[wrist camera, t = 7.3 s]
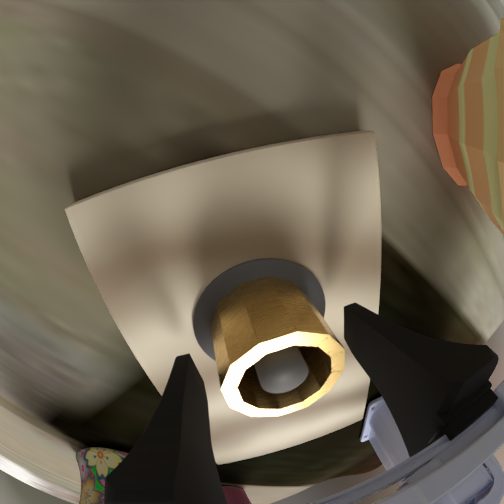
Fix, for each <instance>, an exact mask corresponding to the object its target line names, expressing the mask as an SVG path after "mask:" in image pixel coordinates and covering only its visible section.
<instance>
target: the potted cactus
mask: <svg viewBox="0 0 504 504" xmlns="http://www.w3.org/2000/svg"><path fill="white" fill-rule="evenodd" d="M432 111H433V136H434V139H435V142H436V146H437V149H438V152H439V156H440V159H441V163H442V166H443V168H444V169H445V170H446V171H447V173H448V174H449V175H450V176H451V177H452V179H453V180H454V181H455V182H456V183H457V185H458V186H468V187H469V189H470V190H471V192H472V194H473V195H474V197H475V198H476V200H477V201H478V203H479V204H480V205H481V207H482V208H483V210H484V211H485V213H486V214H487V216H488V217H489V219H490V220H491V221H492V222H493V223H494V224H495V225H496V227H497V228H498V229H499V230H500V231H501V232H502V233H503V237H504V18H502V19H501V23H500V32H499V33H498V34H496V35H494V36H492V37H491V38H489V39H487V40H486V41H484V42H482V43H481V44H479V45H477V46H476V47H474V48H472V49H471V50H470V52H469V53H468V55H467V56H466V58H465V60H464V61H463V63H462V64H458V63H457V64H455V65H453V66H451V67H449V68H446V69H444V70H442V71H441V73H440V76H439V79H438V82H437V85H436V87H435V90H434V93H433V95H432Z"/></svg>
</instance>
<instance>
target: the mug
mask: <svg viewBox="0 0 504 504" xmlns="http://www.w3.org/2000/svg"><path fill="white" fill-rule="evenodd" d="M127 454H128V453H126V452H123V451H119V450H114V449H108V448H100V447H90V448H84V449H81V450H79V451H78V452H77V454H76V460H77V462H78V466H79V469H80V474H81V496H80V502H79V504H104V489H105V479H106V476H108V475H109V474H110V473H111V472H112V471H113V470H114V469H115V468H116V467H117V466H118V465H119V464H120V463H121V462H122V460H123V459H124V458H125V457H126V456H127Z"/></svg>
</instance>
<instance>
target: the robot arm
mask: <svg viewBox="0 0 504 504" xmlns="http://www.w3.org/2000/svg"><path fill="white" fill-rule="evenodd" d="M344 339H345V341H346V343H347V345H348V347H349V349H350V351H351V352H352V354H353V356H354V357H355V359H356V360H357V361H358V363H359V364H360V365H361V367H362V368H363V370H364V371H365V372H366V374H367V375H368V376H369V378H370V379H371V380H372V382H373V383H374V385H375V386H376V387H377V389H378V391H379V392H380V394H381V395H382V396H381V397H379V398H377V399H375V400H373V401H371V402H370V403H369V404H368V408H367V412H366V417H365V421H364V425H363V429H362V433H361V437H360V441H361V442H364V441H366V440H368V439H369V441H370V443H371V444H372V446H373V448H374V450H375V451H376V453H377V455H378V457H379V458H380V460H381V462H382V464H383V466H384V467H385V469H386V471H385V472H383V473H381V474H379V475H377V476H375V477H373V478H371V479H369V480H367V481H365V482H362V483H361V484H358V485H356V486H353V487H351V488H349V489H346V490H344V491H341V492H339V493H337V494H334V495H331V496H329V497H326V498H323V499H320V500H317V501H315V502H311V503H308V504H354V503H356V502H358V501H361V500H363V499H365V498H367V497H369V496H372V495H374V494H376V493H377V492H380V491H382V490H384V489H385V488H387V487H389V486H391V485H393V484H395V483H397V482H398V481H400V480H401V481H402V483H401V484H399V485H398V486H399V488H398V489H397V491H396V492H394V493H392V494H390V495H388V496H386V497H384V498H382V499H380V500H378V501H375V502H373V503H371V504H499V503H500V501H501V499H502V497H503V495H504V472H503V470H502V467H501V465H500V463H499V462H498V460H497V459H496V458H495V456H494V455H493V454H494V453H495V452H496V451H497V449H499V448H500V447H501V446H502V445H503V443H504V381H503V382H501V383H500V384H499V385H498V386H497V388H496V389H495V390H494V391H492V390H491V389H490V388H491V386H492V384H491V383H490V382H489V378H490V376H491V374H492V373H493V371H494V369H495V367H496V365H497V363H498V356H497V354H496V353H494V352H493V351H492V350H491V349H490V348H489V347H488V346H487V345H470V344H461V343H454V342H449V341H444V340H440V339H436V338H432V337H429V336H426V335H423V334H420V333H417V332H414V331H412V330H409V329H407V328H404V327H402V326H400V325H398V324H396V323H393V322H391V321H389V320H387V319H385V318H383V317H382V316H380V315H378V314H376V313H374V312H372V311H370V310H369V309H367V308H365V307H363V306H361V305H359V304H357V303H356V302H355V303H352V304H349V305H347V306H344ZM486 467H487V468H488V470H489V471H490V473H491V474H490V473H489V471H488V470H487V468H486ZM480 491H481V492H480ZM471 498H472V499H471ZM467 501H468V502H467ZM104 504H227V501H226V498H225V495H224V492H223V489H222V485H221V482H220V478H219V474H218V470H217V467H216V462H215V458H214V454H213V449H212V443H211V433H210V421H209V409H208V400H207V394H206V389H205V385H204V381H203V379H202V377H201V375H200V373H199V371H198V369H197V367H196V365H195V363H194V361H193V359H192V357H191V355H190V353H189V354H185V355H180V356H177V357H176V358H175V361H174V364H173V367H172V370H171V373H170V376H169V379H168V382H167V384H166V387H165V390H164V392H163V395H162V397H161V399H160V402H159V404H158V406H157V408H156V410H155V412H154V414H153V416H152V418H151V420H150V422H149V424H148V425H147V427H146V429H145V431H144V432H143V434H142V435H141V437H140V438H139V440H138V441H137V443H136V444H135V446H134V447H133V448H132V449H131V451H130V452H129V453H128V454H127V456H126V457H125V458H124V459H123V460H122V462H121V463H120V464H119V465H118V466H117V467H116V468H115V469H114V470H113V471H112V472H111V473H110V474H109V475H108V476H106V479H105V489H104Z"/></svg>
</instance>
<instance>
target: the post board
mask: <svg viewBox="0 0 504 504" xmlns="http://www.w3.org/2000/svg"><path fill="white" fill-rule="evenodd" d="M65 212H66V214H67V217H68V220H69V223H70V225H71V228H72V231H73V233H74V236H75V238H76V241H77V243H78V246H79V248H80V250H81V253H82V255H83V258H84V260H85V262H86V264H87V267H88V269H89V271H90V273H91V275H92V278H93V280H94V282H95V284H96V286H97V288H98V290H99V292H100V294H101V296H102V298H103V300H104V302H105V304H106V306H107V308H108V310H109V312H110V313H111V315H112V317H113V319H114V321H115V323H116V324H117V326H118V328H119V330H120V332H121V333H122V335H123V337H124V338H125V340H126V342H127V344H128V345H129V347H130V349H131V350H132V352H133V353H134V355H135V357H136V358H137V360H138V361H139V363H140V365H141V366H142V368H143V369H144V371H145V372H146V374H147V375H148V377H149V378H150V380H151V381H152V383H153V384H154V386H155V387H156V388H157V390H158V391H159V393H160V394H161V396H162V395H163V392H164V390H165V387H166V384H167V382H168V379H169V376H170V373H171V370H172V367H173V364H174V361H175V358H176V357H177V356H180V355H185V354H189V353H190V355H191V357H192V359H193V361H194V363H195V365H196V367H197V369H198V371H199V373H200V375H201V377H202V379H203V381H204V385H205V389H206V394H207V400H208V409H209V421H210V433H211V443H212V449H213V454H214V458H215V462H216V463H217V464H218V465H220V464H225V463H230V462H235V461H240V460H244V459H248V458H253V457H257V456H261V455H264V454H268V453H272V452H275V451H279V450H282V449H285V448H289V447H292V446H295V445H298V444H301V443H304V442H307V441H310V440H313V439H315V438H318V437H321V436H323V435H326V434H329V433H331V432H334V431H336V430H339V429H341V428H343V427H346V426H348V425H350V424H353V423H355V422H357V421H359V420H362V419H363V415H364V410H365V405H366V400H367V395H368V389H369V383H370V378H369V376H368V375H367V374H366V372H365V371H364V370H363V368H362V367H361V365H360V364H359V363H358V361H357V360H356V359H355V357H354V356H353V354H352V352H351V351H350V349H349V347H348V345H347V343H346V341H345V339H344V306H347V305H349V304H352V303H355V302H356V303H357V304H359V305H361V306H363V307H365V308H367V309H369V310H370V311H372V312H374V313H376V314H378V311H379V297H380V279H381V202H380V184H379V170H378V159H377V149H376V140H375V132H371V131H354V132H346V133H338V134H330V135H323V136H316V137H310V138H304V139H298V140H292V141H286V142H281V143H275V144H270V145H265V146H260V147H255V148H251V149H246V150H241V151H237V152H233V153H228V154H224V155H220V156H216V157H212V158H208V159H204V160H200V161H197V162H193V163H189V164H186V165H182V166H179V167H175V168H172V169H168V170H165V171H162V172H158V173H155V174H152V175H149V176H146V177H143V178H140V179H136V180H133V181H131V182H128V183H125V184H122V185H119V186H116V187H113V188H111V189H108V190H105V191H102V192H100V193H97V194H94V195H92V196H89V197H87V198H84V199H82V200H79V201H77V202H74V203H73V204H71V205H70V206H68V207H67V208H66V209H65ZM264 277H273V278H278V279H283V280H288V281H293V282H294V283H295V284H296V285H297V286H298V287H299V288H300V289H301V290H302V291H303V292H304V293H305V294H306V295H307V296H308V297H309V298H310V300H311V301H312V302H313V304H314V305H315V307H316V308H317V310H318V311H319V312H320V314H321V315H322V317H323V318H324V320H325V321H326V323H327V324H328V325H329V327H330V328H331V330H332V331H333V333H334V334H335V336H336V337H337V338H338V340H339V341H340V343H341V344H342V346H343V347H344V349H345V366H344V371H343V373H342V374H341V376H340V377H339V379H338V380H337V382H336V383H335V384H334V386H333V387H332V389H331V390H330V391H329V392H328V393H326V394H325V395H323V396H322V397H321V398H319V399H318V400H316V401H315V402H313V403H312V404H311V405H309V406H308V407H305V408H303V409H300V410H297V411H294V412H291V413H288V414H284V415H281V416H268V417H251V416H249V415H246V414H244V413H242V412H239V411H237V410H235V409H233V408H230V407H229V405H228V403H227V401H226V399H225V397H224V395H223V393H222V391H221V387H220V382H219V376H218V370H217V364H216V358H215V352H214V346H213V339H212V332H211V323H212V320H213V316H214V313H215V310H216V307H217V304H218V303H219V302H220V301H221V300H222V299H223V298H224V297H225V296H226V295H228V294H229V293H230V292H231V291H232V290H233V289H234V288H235V287H237V286H238V285H239V284H243V283H246V282H250V281H253V280H257V279H260V278H264ZM254 366H255V369H256V372H257V375H258V378H259V381H260V385H261V387H262V388H263V389H264V390H265V391H267V392H270V393H283V392H287V391H290V390H292V389H294V388H296V387H298V386H299V385H300V384H302V383H303V382H304V380H305V379H306V378H307V376H308V372H309V370H308V366H307V364H306V362H305V361H304V359H303V357H302V355H301V353H300V351H299V349H298V347H297V345H293V346H290V347H287V348H284V349H281V350H278V351H275V352H271V353H268V354H266V355H265V356H263V357H262V358H261V359H259V360H258V361H257V362H255V363H254Z"/></svg>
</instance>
